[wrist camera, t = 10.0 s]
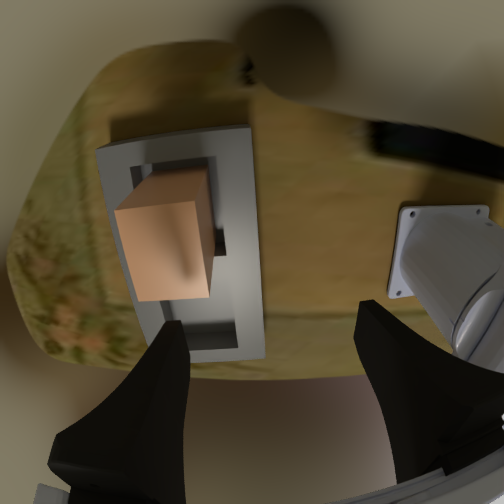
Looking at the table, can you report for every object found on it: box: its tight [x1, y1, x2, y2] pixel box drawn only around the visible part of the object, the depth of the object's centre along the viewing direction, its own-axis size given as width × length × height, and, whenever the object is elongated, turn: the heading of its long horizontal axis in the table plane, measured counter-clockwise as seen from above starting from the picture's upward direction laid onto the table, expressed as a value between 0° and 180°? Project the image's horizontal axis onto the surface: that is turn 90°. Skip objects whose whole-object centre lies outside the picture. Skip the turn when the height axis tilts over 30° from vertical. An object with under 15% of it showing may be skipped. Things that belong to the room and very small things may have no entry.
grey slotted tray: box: [95, 124, 265, 363], centre depth 21 cm, size 9×17×3 cm, turn 4°
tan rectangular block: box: [114, 165, 216, 302], centre depth 17 cm, size 4×5×7 cm
